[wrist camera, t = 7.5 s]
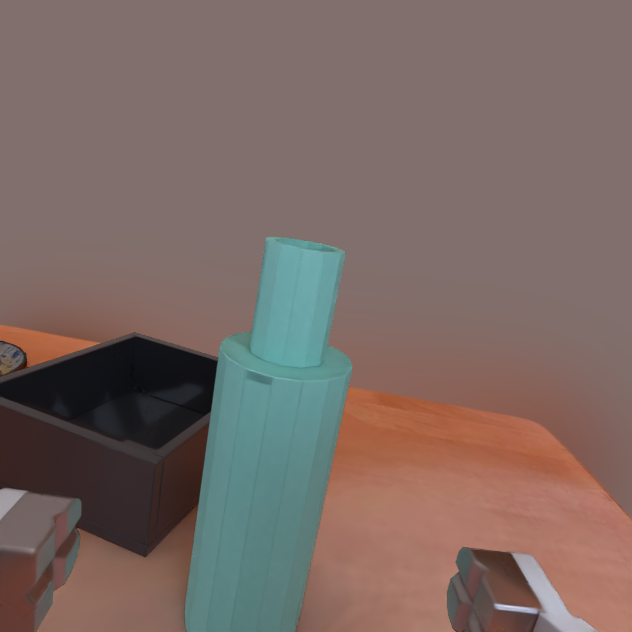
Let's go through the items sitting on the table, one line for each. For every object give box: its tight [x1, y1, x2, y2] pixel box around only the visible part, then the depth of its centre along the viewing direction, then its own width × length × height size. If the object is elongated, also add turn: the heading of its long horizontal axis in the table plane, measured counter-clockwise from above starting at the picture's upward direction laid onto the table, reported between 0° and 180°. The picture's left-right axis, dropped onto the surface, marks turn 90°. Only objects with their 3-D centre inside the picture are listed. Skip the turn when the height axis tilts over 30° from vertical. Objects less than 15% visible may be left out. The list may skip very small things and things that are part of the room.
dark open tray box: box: [0, 332, 218, 557], centre depth 37 cm, size 17×15×6 cm
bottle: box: [185, 237, 352, 632], centre depth 23 cm, size 6×6×20 cm
